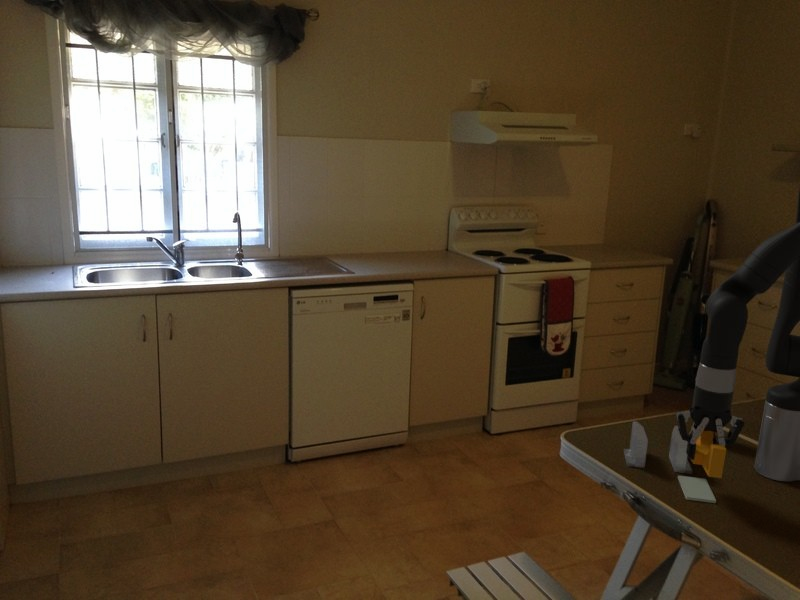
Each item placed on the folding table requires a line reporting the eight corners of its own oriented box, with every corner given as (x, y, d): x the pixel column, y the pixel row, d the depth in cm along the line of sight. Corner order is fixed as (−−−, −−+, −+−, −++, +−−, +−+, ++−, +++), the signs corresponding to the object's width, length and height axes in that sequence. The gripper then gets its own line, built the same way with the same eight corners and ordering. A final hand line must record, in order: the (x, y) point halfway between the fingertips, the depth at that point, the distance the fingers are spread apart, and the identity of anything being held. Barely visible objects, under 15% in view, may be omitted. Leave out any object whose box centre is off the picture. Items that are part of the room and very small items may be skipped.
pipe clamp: (686, 451, 161) (690, 424, 160) (706, 453, 161) (711, 426, 159) (699, 475, 150) (704, 446, 148) (721, 478, 149) (726, 449, 148)
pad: (705, 481, 162) (705, 478, 162) (715, 503, 153) (716, 500, 153) (677, 477, 163) (677, 475, 163) (686, 499, 154) (686, 496, 154)
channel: (682, 453, 176) (686, 426, 175) (691, 473, 166) (696, 445, 164) (622, 446, 179) (625, 420, 177) (627, 466, 168) (630, 438, 166)
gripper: (683, 387, 149) (672, 463, 153) (756, 394, 147) (743, 471, 151) (675, 376, 156) (665, 448, 160) (745, 382, 154) (733, 456, 158)
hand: (703, 459), depth 156 cm, fingers closed on pipe clamp, 4 cm apart
